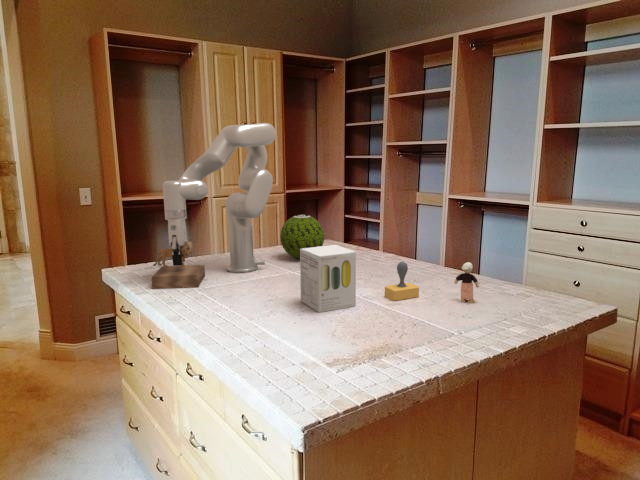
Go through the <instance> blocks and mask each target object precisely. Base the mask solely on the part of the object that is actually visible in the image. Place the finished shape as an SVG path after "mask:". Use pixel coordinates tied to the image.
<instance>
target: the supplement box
mask: <svg viewBox="0 0 640 480" xmlns="http://www.w3.org/2000/svg"><path fill="white" fill-rule="evenodd" d="M356 259H357V252H356V251H355V250H353V249H349V248H346V247H343V246H340V245H337V244H329V245H323V246H319V247H311V248H302V249H300V259H299V263H300V264H299V266H300V269H299V270H300V301H301V302H302V303H304V304H305V305H307V306H309V307H310V308H311V309H313V310H314V311H316V312H318V313H324V312H329V311H334V310H340V309H345V308H346V309H347V308H351V307H355V306H356V305H357V304H356V301H357V299H356V297H357V296H356V293H357V292H356V291H357V286H356V285H357V283H356V282H357V279H356V278H357V277H356V276H357V275H356V273H357V272H356V271H357V270H356V268H357V265H356V263H357V262H356Z"/></svg>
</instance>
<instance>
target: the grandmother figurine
mask: <svg viewBox="0 0 640 480" xmlns="http://www.w3.org/2000/svg"><path fill="white" fill-rule="evenodd" d="M473 268H474V267H473V264H472V262H469V261H468V262H465V263H463V265H462V266H461V269H462V270H463V272H464V273H460V274H458V275H457V276H456V277H455V280H454V281H453V283H454V284H455V285H457V284H458V282H459V281H461V284H460V303H466V302H467V303H469V304H473V303H476V300H475V298H474V285H475V288H479V287H480V284H479V280H478V279H477V277H476V276H475V275H474V274H472V271H473ZM473 283H474V284H473Z"/></svg>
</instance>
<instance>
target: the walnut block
mask: <svg viewBox="0 0 640 480" xmlns="http://www.w3.org/2000/svg"><path fill="white" fill-rule="evenodd" d="M184 265H185V266H184V267H182V266H181V265H179V266H174V265H167V266H168V267H164V266H163V265H161V266H160V268H158V270H156V272H155V273H154V274H153V275H152V276H151V287H152V290H166V289H168V290H169V289H195V288H200V286H201V284H202V282H203V280H204V278H205V277H206V272H205V271H206V269H205V268H206V267H205V264H189V265H187V264H184Z"/></svg>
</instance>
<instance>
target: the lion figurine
mask: <svg viewBox="0 0 640 480" xmlns="http://www.w3.org/2000/svg"><path fill="white" fill-rule="evenodd" d="M180 247H181V254H182V265H180V266H182V267H184V266H185V265H186V264H185V262H183V261H184V258H185V259H186V258H188V257H189V256H190V255H191V254H193V251H194V246H193V242H191V241H189V240H187V241H186V242H185V245H184V246H183V247H182V246H180ZM177 249H178V248H177ZM156 255H157V257H156V261H155V263H154V264H153V265H152V267H155V266H157V265H158V266H159V267H162V266H164V267H168V266H169V265H166V263H165V262H166V260H167V258H168V259H170V260H171V259H172V260H173V257H172V248H171V249H170V248H161V249H160V250H159V251H158V253H157V254H156Z"/></svg>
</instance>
